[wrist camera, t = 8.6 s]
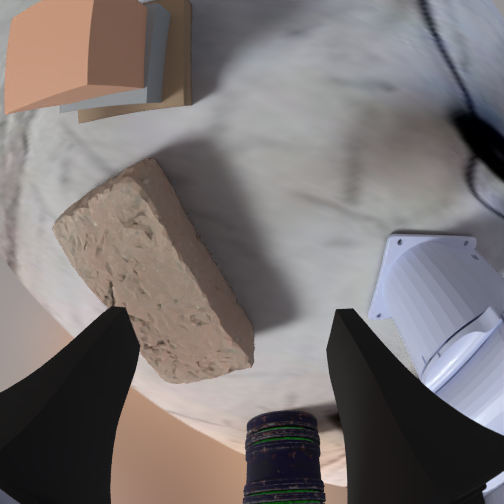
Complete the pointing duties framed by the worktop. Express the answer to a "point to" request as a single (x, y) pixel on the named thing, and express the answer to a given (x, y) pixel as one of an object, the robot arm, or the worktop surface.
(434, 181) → the worktop surface
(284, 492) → the storage jar
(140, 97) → the grey flat square block
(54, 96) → the terracotta block
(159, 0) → the tower base
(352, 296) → the worktop surface
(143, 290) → the brick
